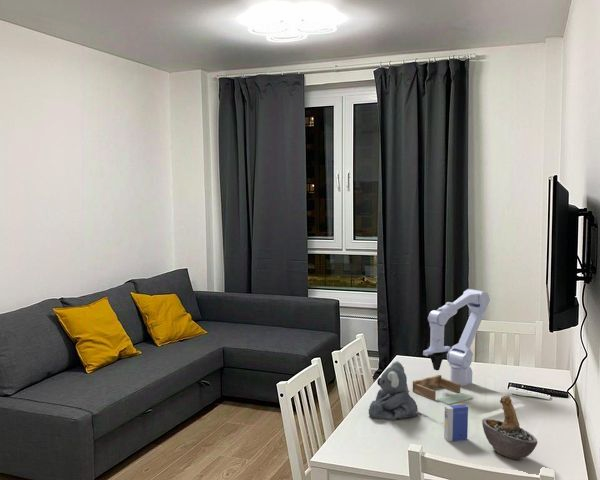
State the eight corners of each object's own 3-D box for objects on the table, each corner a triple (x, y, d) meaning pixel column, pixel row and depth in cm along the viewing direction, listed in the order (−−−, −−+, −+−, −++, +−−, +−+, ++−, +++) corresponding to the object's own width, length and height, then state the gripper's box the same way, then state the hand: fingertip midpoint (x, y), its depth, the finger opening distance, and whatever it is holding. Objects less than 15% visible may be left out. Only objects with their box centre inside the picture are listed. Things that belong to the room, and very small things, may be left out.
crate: (439, 388, 262) (439, 374, 261) (460, 395, 252) (460, 382, 251) (412, 394, 253) (412, 381, 252) (433, 403, 243) (433, 389, 242)
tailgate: (459, 392, 251) (472, 397, 245) (459, 394, 251) (472, 399, 245) (435, 398, 243) (448, 403, 237) (435, 401, 243) (448, 406, 237)
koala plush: (376, 403, 243) (377, 356, 242) (420, 408, 237) (421, 360, 235) (366, 418, 227) (367, 368, 225) (414, 425, 221) (415, 373, 219)
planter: (481, 442, 206) (483, 385, 204) (533, 448, 201) (535, 390, 199) (481, 461, 191) (483, 400, 190) (537, 468, 187) (539, 406, 185)
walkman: (463, 436, 211) (464, 403, 210) (467, 439, 208) (468, 406, 207) (443, 438, 209) (443, 405, 208) (447, 441, 206) (447, 408, 205)
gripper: (442, 334, 262) (441, 364, 263) (418, 338, 254) (417, 370, 255) (454, 337, 256) (453, 368, 257) (430, 342, 248) (429, 374, 249)
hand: (436, 369), depth 255 cm, fingers closed
